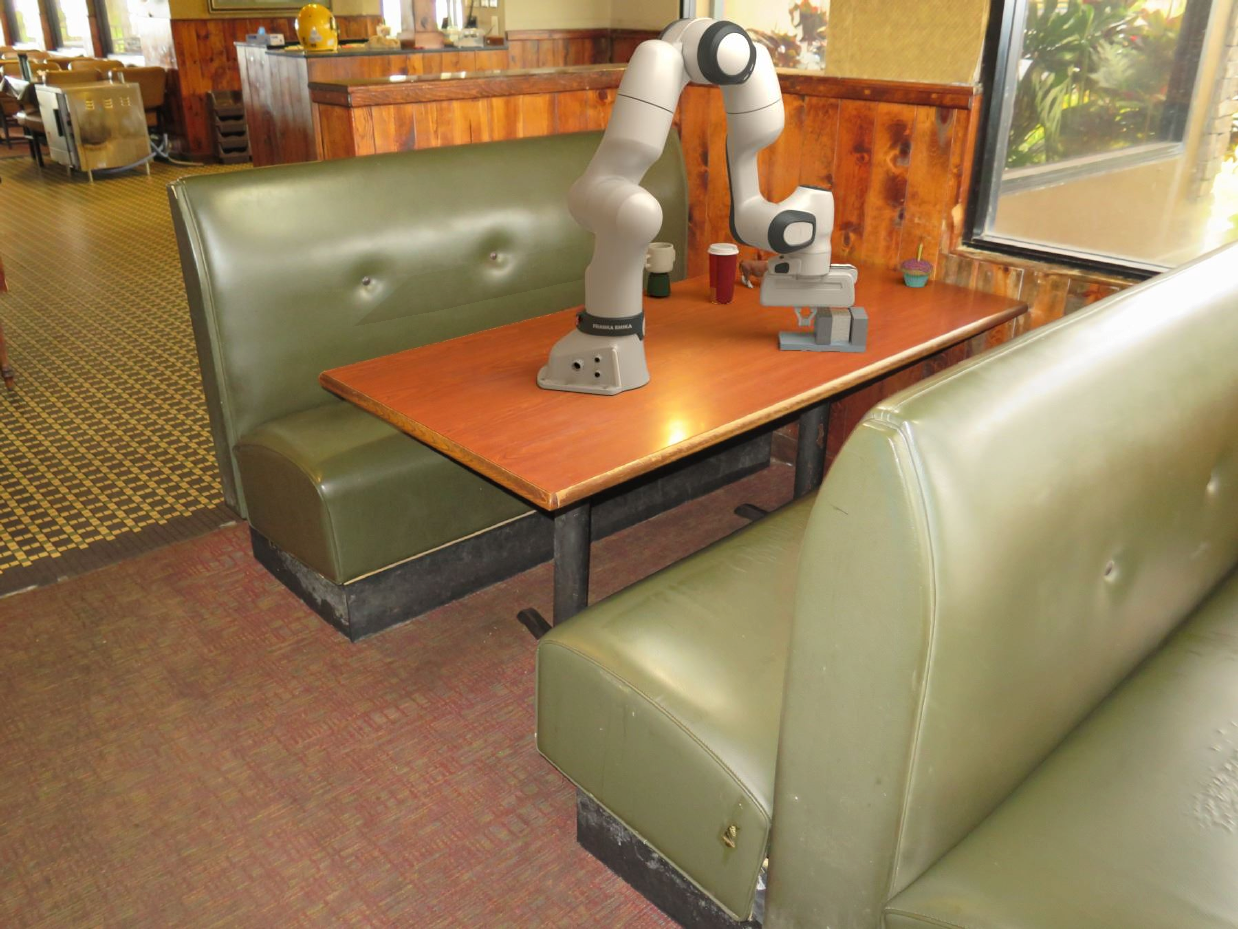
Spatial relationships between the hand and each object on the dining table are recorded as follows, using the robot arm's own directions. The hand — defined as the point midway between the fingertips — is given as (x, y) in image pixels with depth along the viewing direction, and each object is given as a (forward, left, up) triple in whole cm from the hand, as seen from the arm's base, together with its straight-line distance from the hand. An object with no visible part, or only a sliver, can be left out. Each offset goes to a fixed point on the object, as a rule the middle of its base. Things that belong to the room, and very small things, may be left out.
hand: (804, 325), depth 218 cm
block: (+7, 0, -3) cm, 8 cm away
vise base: (+4, +4, -4) cm, 7 cm away
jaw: (+4, 0, -3) cm, 5 cm away
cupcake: (+33, +53, -4) cm, 63 cm away
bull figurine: (-7, +47, -4) cm, 48 cm away
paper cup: (-18, +33, -4) cm, 38 cm away
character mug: (-34, +38, -4) cm, 51 cm away
